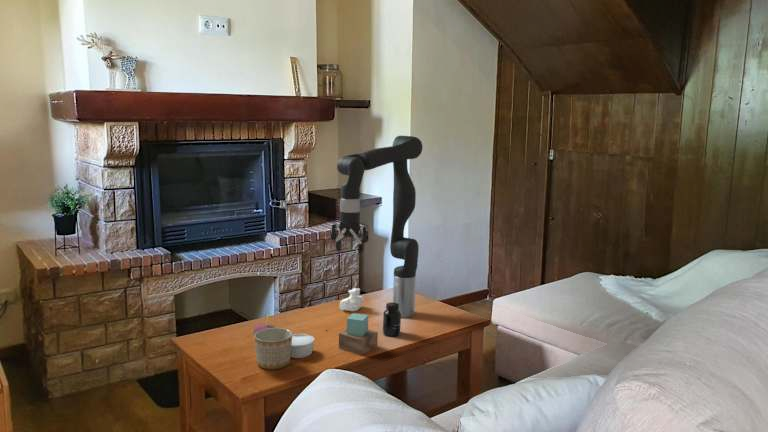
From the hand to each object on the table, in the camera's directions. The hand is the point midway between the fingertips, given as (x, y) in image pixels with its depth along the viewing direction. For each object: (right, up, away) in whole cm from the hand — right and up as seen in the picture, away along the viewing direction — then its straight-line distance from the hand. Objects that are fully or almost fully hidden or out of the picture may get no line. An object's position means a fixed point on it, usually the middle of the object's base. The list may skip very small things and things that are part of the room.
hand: (349, 252), depth 229 cm
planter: (-24, -37, -24) cm, 50 cm away
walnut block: (+4, -35, -9) cm, 36 cm away
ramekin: (-17, -35, -15) cm, 42 cm away
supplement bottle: (+16, -32, +5) cm, 36 cm away
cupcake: (-31, -33, -6) cm, 46 cm away
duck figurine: (0, -27, +32) cm, 42 cm away
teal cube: (+3, -29, -10) cm, 31 cm away
